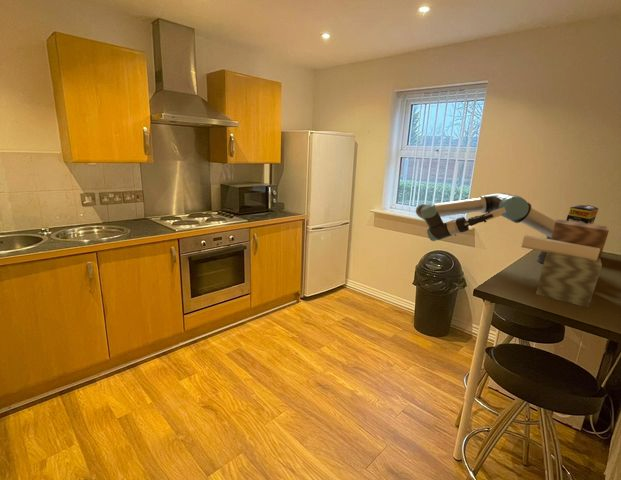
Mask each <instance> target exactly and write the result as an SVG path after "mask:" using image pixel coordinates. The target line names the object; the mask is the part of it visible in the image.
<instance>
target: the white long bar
mask: <svg viewBox="0 0 621 480" xmlns="http://www.w3.org/2000/svg"><path fill="white" fill-rule="evenodd" d="M521 248H524V249H529V250H535V251H539V252H542V251H543V252H548V253H553V254H559V255H564V256H569V257H574V258H579V259H584V260H589V261H594V262H597V258H598V255H599V252H600V248H595V247H590V246H584V245H579V244H573V243H567V242H562V241H556V240H551V239H547V238H546V237H545V238H544V237H539V236H532V235H527V234H525V235H524V236H523V239H522V242H521Z"/></svg>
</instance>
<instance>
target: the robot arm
mask: <svg viewBox="0 0 621 480" xmlns="http://www.w3.org/2000/svg"><path fill="white" fill-rule="evenodd" d="M478 212H479V213H481V215H475V216H472V217H469V218H467V219H466V217H464V216H461V217H458V218H456V219H452V220H449V221H447V222H444V220H443V219H442V218H441V217H448V216H455V215H456V216H457V215H463V214H464V215H465V214H472V213H473V214H474V213H478ZM415 214H416V215H417V216H418V218H421V220H424V221H425V222H426V224H427V226H428V228H427V230H426V234H427V237H428V239H429V240H430V241H431V242H436V241H440V240H443V239H445V238H446V239H447V238H449V237H453V236H454V237H456V236H457V235H458V234H461V233H465V232H468V231H469V228H470V227H473V226H475V225H477V224H480V223H487V222H488V221H489V220H493V219H495V218H497V217H498V218H499V217H503V218H505V219H507V220H508V221H511V222H513V223H516V224H519V223H521V224H523V225H525V226H528V227H529V228H531V229H533V230H534V231H537V232H538V233H541V234H543V235H545V236H546V239H551V237H552V233H553V230H554V226H555V222H556V220H555V219H554V218H552V217H549V216H548V215H546V214H544V213H542V212H540V211H538V210H536V209H535V208H533V207H532V204H531V203H530V202H529V201H527V200H526V199H525V198H523V197H522V196H519V195H516V194H515V195H514V194H509V193H505V192H497V193H490V194H485V195H479V196H478V198H477V197H476V198H470V199H462V200H455V201H454V200H453V201H446V202H439V203H431V204H430V203H429V204H424V203H422V204H419V205H418V206H417V207H416V210H415ZM469 226H470V227H469ZM546 254H547V252H543V251H540V253H539V255H538V256H537V258H536V259H537V261H536V262H538V263H540V264H543V265H544V261H545V257H546Z"/></svg>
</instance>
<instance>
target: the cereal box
mask: <svg viewBox="0 0 621 480" xmlns="http://www.w3.org/2000/svg"><path fill="white" fill-rule="evenodd" d="M598 212H599V207H596V206H594V205H590V204H587V205H582V204H580V205H573V206H571V207H569V210H568V214H567V215H566V219H565V220H566V221H573V222H579V223H586V224H593V225H594V223H595V219H596V217H597V215H598Z"/></svg>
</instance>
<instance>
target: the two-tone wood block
mask: <svg viewBox="0 0 621 480" xmlns="http://www.w3.org/2000/svg"><path fill="white" fill-rule="evenodd" d="M555 221H556V222H555V226H554V230H553V233H552V237H551V240H556V241H562V242H567V243H573V244H579V245H584V246H590V247H595V248H600V252H599V255H598V258H597V262H594V261H589V260H584V259H579V258H574V257H569V256H564V255H559V254H553V253H548V252H547V254H546V257H545V261H544V264H543V266H542V269H541V271H540V272H541V273H540V277H539V280H538V284H537V288H536V291H535V295H537V296H543V297H546V298H550V299H554V300H558V301H560V302H561V301H562V302H566V303H569V304H573V305H577V306H580V307H584V308H589V307H590V304H591V302H592V299H593V298H592V297H593V294H594V291H595V290H596V286H597V283H598V279H599V277H600V273H601V270H602V267H603V264H602V261H601V257H602V253H603V252H604V251H603V250H604V248H605V244H606V241H607V239H608V235H609V232H610V230H609V228H608V226H607V225H606V226H605V225H598V224H594V223H593V224H586V223H579V222H573V221H566V219H558V218H556V220H555Z"/></svg>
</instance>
